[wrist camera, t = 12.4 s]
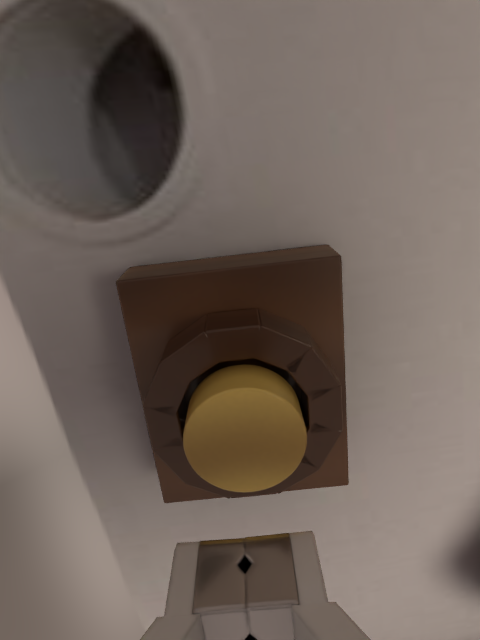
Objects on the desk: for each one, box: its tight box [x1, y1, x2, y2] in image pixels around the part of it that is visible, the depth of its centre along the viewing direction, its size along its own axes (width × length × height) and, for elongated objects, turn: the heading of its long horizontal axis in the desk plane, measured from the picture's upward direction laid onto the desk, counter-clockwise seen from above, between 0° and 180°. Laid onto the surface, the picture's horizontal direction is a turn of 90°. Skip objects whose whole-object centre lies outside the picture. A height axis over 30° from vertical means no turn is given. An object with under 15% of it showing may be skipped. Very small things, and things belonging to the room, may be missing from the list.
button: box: [183, 364, 307, 492], centre depth 15 cm, size 4×4×2 cm
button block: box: [116, 245, 349, 503], centre depth 17 cm, size 10×8×4 cm
